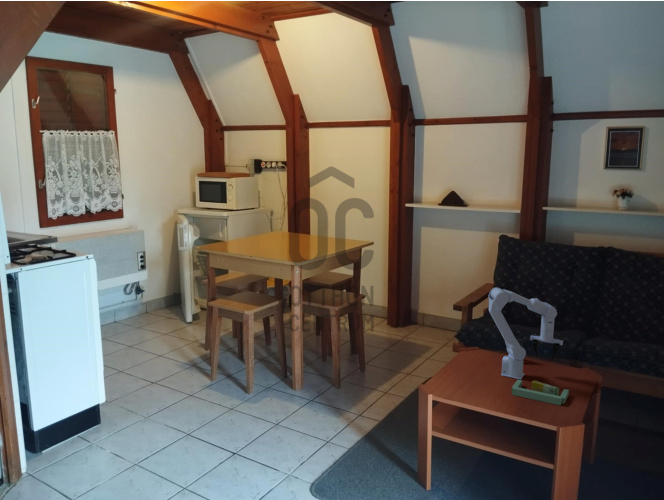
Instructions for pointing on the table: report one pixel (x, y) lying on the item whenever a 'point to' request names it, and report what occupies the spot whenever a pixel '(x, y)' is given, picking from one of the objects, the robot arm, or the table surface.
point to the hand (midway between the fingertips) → (545, 356)
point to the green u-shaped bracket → (539, 394)
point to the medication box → (544, 388)
